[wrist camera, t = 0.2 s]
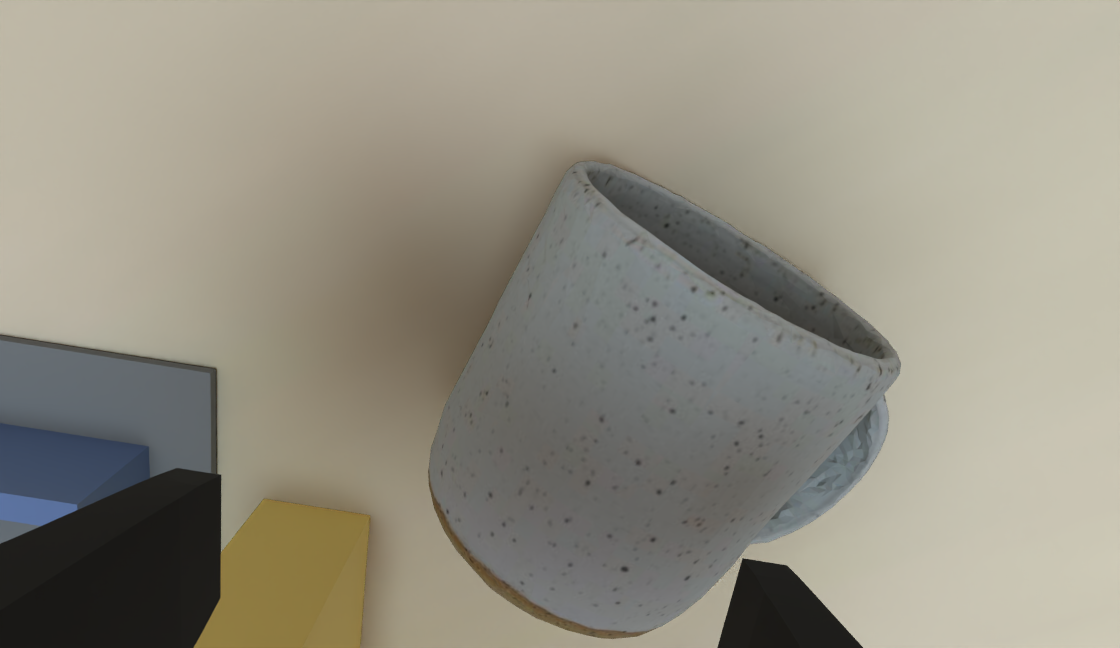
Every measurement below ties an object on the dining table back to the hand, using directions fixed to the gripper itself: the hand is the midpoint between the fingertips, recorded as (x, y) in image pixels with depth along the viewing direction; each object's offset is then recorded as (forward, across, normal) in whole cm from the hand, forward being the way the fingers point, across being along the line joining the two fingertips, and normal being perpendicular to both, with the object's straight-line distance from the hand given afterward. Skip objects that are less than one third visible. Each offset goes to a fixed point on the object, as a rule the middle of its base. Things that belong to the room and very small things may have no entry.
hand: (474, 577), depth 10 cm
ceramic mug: (+10, -4, 0) cm, 11 cm away
